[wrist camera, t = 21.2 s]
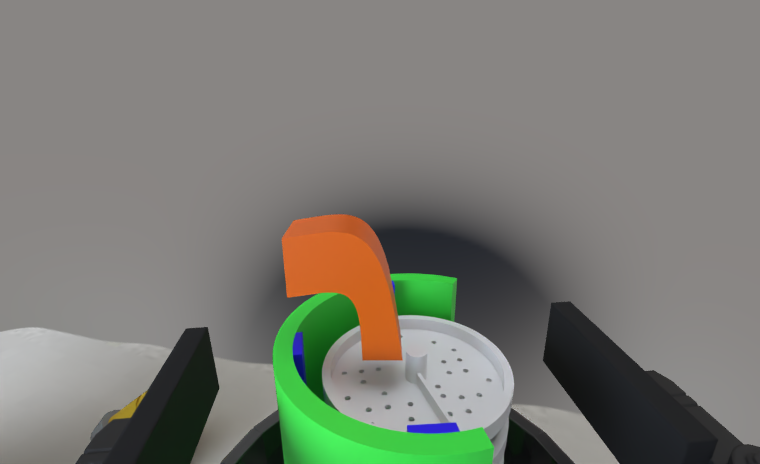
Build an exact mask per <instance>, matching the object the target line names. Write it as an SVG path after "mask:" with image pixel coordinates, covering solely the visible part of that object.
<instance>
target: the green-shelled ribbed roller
mask: <svg viewBox="0 0 760 464" xmlns="http://www.w3.org/2000/svg"><path fill="white" fill-rule="evenodd" d="M282 245H283V257H284V267H285V279H286V289H287V297H295V296H302V295H309V294H317V293H319V294H317V295H315V296H314V297H312V298H310V299H309V300H307V301H306V302H304V303H303V304H302V305H300V306H299V307H298V308H297V309H296V310H295V311H293V312H292V313H291V315H290V316H289V317H288V318H287V319H286V320H285V322H284V323H283V325H282V326H281V328H280V330H279V332H278V334H277V336H276V339H275V342H274V347H273V368H274V377H275V385H276V394H277V403H278V412H279V421H280V430H281V439H282V447H283V456H284V464H504V451H505V448H506V442H507V434H508V427H509V414H510V410H511V405H512V398H513V390H514V378H513V374H512V370H511V368H510V365H509V363H508V361H507V360H506V358H505V356H504V355H503V354H502V352H501V351H500V350H499V349H498V348H497V347H496V346H495V345H494V344H493V343H492V342H491V341H489V340H488V339H487V338H485V337H484V336H482V335H480V334H479V333H478V332H476V331H474V330H472V329H470V328H468V327H466V326H463V325H461V324H458V323H455V322H454V316H455V301H456V286H457V279H456V278H452V277H446V276H439V275H430V274H390V271H389V267H388V264H387V260H386V257H385V254H384V251H383V248H382V246H381V244H380V242H379V240H378V238H377V236H376V234H375V233H374V231H373V230H372V229H371V227H370V226H369V225H368V224H367V223H366V222H364V221H363V220H361V219H359V218H357V217H354V216H350V215H326V216H318V217H312V218H306V219H300V220H294V221H293V222H292V224H291V226H290V227H289V228H288V230H287V232H286V233H285V235H284V236H283V238H282Z"/></svg>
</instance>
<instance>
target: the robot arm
mask: <svg viewBox="0 0 760 464" xmlns="http://www.w3.org/2000/svg"><path fill="white" fill-rule="evenodd" d="M543 361H544V362H545V364H546V365H547V367H548V368H549V369H550V371H551V372H552V373H553V375H554V376H555V378H556V379H557V380H558V382H559V383H560V384H561V385H562V387H563V388H564V389H565V391H566V392H567V394H568V395H569V396H570V398H571V399H572V400H573V401H574V403H575V404H576V406H577V407H578V408H579V410H580V411H581V412H582V414H583V415H584V416H585V418H586V419H587V420H588V422H589V423H590V424H591V426H592V427H593V428H594V430H595V431H596V432H597V434H598V435H599V436H600V438H601V439H602V440H603V442H604V443H605V444H606V446H607V447H608V448H609V450H610V451H611V452H612V454H613V455H614V456H615V458H616V459H617V460H618V462H619V463H620V464H760V447H757V446H753V445H749V444H747V445H744V444H743V443H742V442H740V441H739V440H738V439H737V438H736V437H735V436H734V435H732V434H731V433H730V432H729V431H728V430H727V429H726V428H725V427H723V426H722V425H721V424H720V423H719V422H718V421H716V419H714V418H713V417H712V416H711V415H710V414H709V413H708V412H706V411H705V410H704V409H703V408H702V407H701V406H698V405H697V403H696V402H695V401H694V400H693V399H692V398H691V397H689V396H686V393H685V392H684V391H683V390H682V389H680V388H679V387H678V386H677V385H676V384H675V383H674V382H672V381H671V380H669V379H668V378H666V377H664V376H662V375H661V374H659V373H657V372H655V371H654V370H653V371H644V370H643V369H642V368H641V367H640V366H639V365H638V364H637V363H635V361H633V360H632V359H631V358H630V357H629V356H628V355H627V354H626V353H625V352H624V351H623V350H622V349H621V348H619V347H618V346H617V345H616V344H615V343H614V342H613V341H612V340H611V339H610V338H609V337H608V336H606V335H605V334H604V333H603V332H602V331H601V330H600V329H599V328H598V327H597V326H596V325H595V324H594V323H593V322H591V321H590V320H589V319H588V318H587V317H586V316H585V315H584V314H583V313H582V312H581V311H580V310H579V309H577V308H576V307H575V306H574V305H573V304H572V303H571V302H556V303H551V309H550V317H549V323H548V331H547V337H546V344H545V351H544V357H543ZM218 390H219V383H218V378H217V373H216V368H215V363H214V358H213V353H212V347H211V342H210V337H209V332H208V327H204V328H189V329H186V330H185V331H184V333H183V334H182V336H181V337H180V339H179V341H178V342H177V344H176V346H175V347H174V349H173V350H172V352H171V354H170V355H169V357H168V358H167V360H166V362H165V363H164V365H163V366H162V368H161V370H160V371H159V373H158V375H157V376H156V378H155V379H154V381H153V383H152V384H151V386H150V387H149V389H148V391H147V392H146V394H145V396H144V397H143V399H142V400H141V402H140V404H139V405H138V407H137V409H136V410H135V412H134V413H133V415H132V417H131V418H121V419H113V420H112V421H111V422H109V423H108V424H107V425H106V426H105V427H104V428H102V429H101V430H100V431H99V432H98V433H97V434H96V435H95V436H94V438H93V439H92V440H91V442H90V443H89V445H88V446H87V448H86V449H85V451H84V454H82V455H81V456H80V458H79V459H78V461H77V462H76V464H190V463H191V460H192V457H193V455H194V452H195V450H196V447H197V444H198V442H199V439H200V437H201V434H202V432H203V429H204V426H205V424H206V421H207V419H208V416H209V413H210V411H211V408H212V406H213V403H214V401H215V398H216V395H217V393H218Z"/></svg>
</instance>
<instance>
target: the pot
mask: <svg viewBox="0 0 760 464" xmlns="http://www.w3.org/2000/svg"><path fill="white" fill-rule="evenodd" d="M221 464H284V456H283V447H282V439H281V430H280V421H279V412H278V410H277V411H275V412H274V413H273V414H271V415H270V416H268V417H267V418H266V419H264V420H263V421H262V422H260V423H259V424H257V425H256V426H255V427H254V428H253V429H251V430H250V431H249V433H248V434H247V435H246V436H245V437H244V438H243V439H242V440H241V441H240V442H239V443H238V444H237V445H236V446H235V448H234V449H233V450H232V451H231V452H230V453H229V454H228V455H227V456H226V457H225V458H224V459H223V460H222V462H221ZM504 464H575V463H574V462H573V461H572V460H571V459H570V458H569V457H568V456H567V455H566V454H565V453H564V452H563V451H562V450H561V448H560V447H559V446H558V445H557V444H556V443H555V442H554V441H553V440H552V439H551V438H550V437H549V436H548V435H547V434H546V433H545V432H543V430H541V429H540V428H538V427H537V426H536V425H534V424H533V423H532V422H530V421H529V420H527V419H526V418H525V417H523V416H522V415H521V414H519V413H518V412H516V411H515V410H514V409H512V408H511V410H510V414H509V427H508V434H507V442H506V448H505V451H504Z"/></svg>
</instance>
